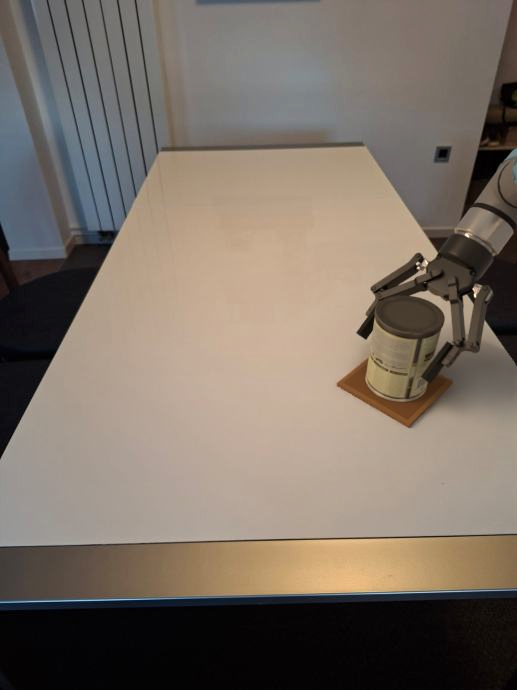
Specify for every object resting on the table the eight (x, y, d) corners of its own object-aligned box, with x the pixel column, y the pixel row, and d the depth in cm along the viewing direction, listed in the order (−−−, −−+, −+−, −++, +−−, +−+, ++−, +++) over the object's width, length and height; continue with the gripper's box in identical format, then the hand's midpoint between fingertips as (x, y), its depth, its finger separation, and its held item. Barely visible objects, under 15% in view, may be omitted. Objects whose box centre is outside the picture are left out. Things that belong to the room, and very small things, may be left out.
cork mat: (452, 383, 84) (453, 380, 84) (408, 427, 77) (409, 425, 76) (382, 348, 92) (383, 345, 92) (336, 385, 84) (336, 382, 84)
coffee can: (373, 356, 89) (384, 289, 81) (431, 371, 86) (449, 303, 77) (357, 392, 82) (367, 323, 73) (420, 410, 79) (439, 340, 70)
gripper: (555, 288, 71) (464, 407, 74) (418, 228, 87) (347, 327, 90) (547, 267, 65) (449, 396, 68) (402, 207, 82) (327, 313, 84)
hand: (391, 357), depth 79 cm, fingers open, 13 cm apart
